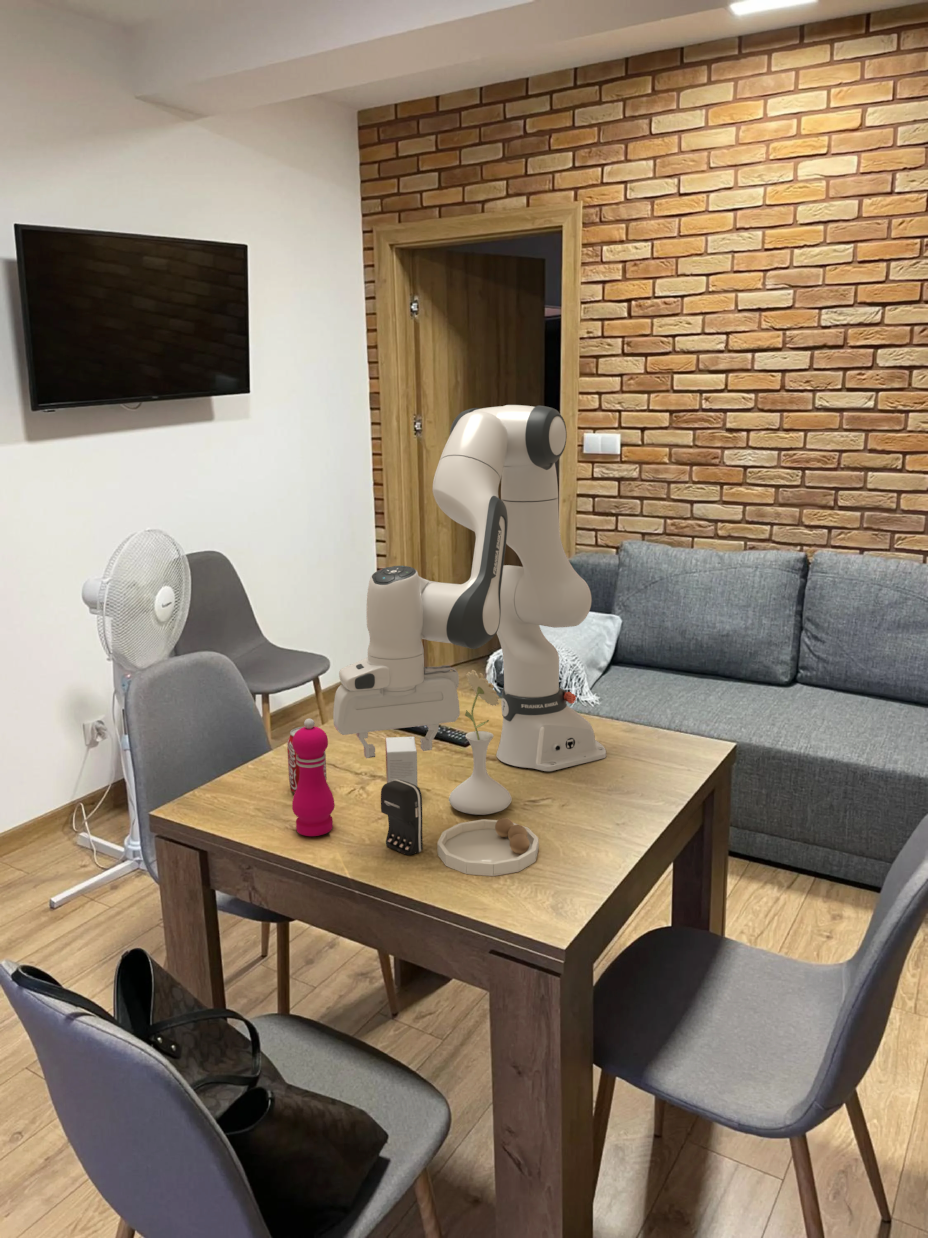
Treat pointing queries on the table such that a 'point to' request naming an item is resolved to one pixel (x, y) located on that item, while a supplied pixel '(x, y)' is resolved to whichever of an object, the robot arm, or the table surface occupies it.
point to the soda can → (292, 764)
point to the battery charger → (403, 816)
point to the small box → (401, 759)
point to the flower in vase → (480, 763)
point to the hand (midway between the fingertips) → (398, 753)
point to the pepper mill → (312, 782)
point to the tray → (483, 849)
